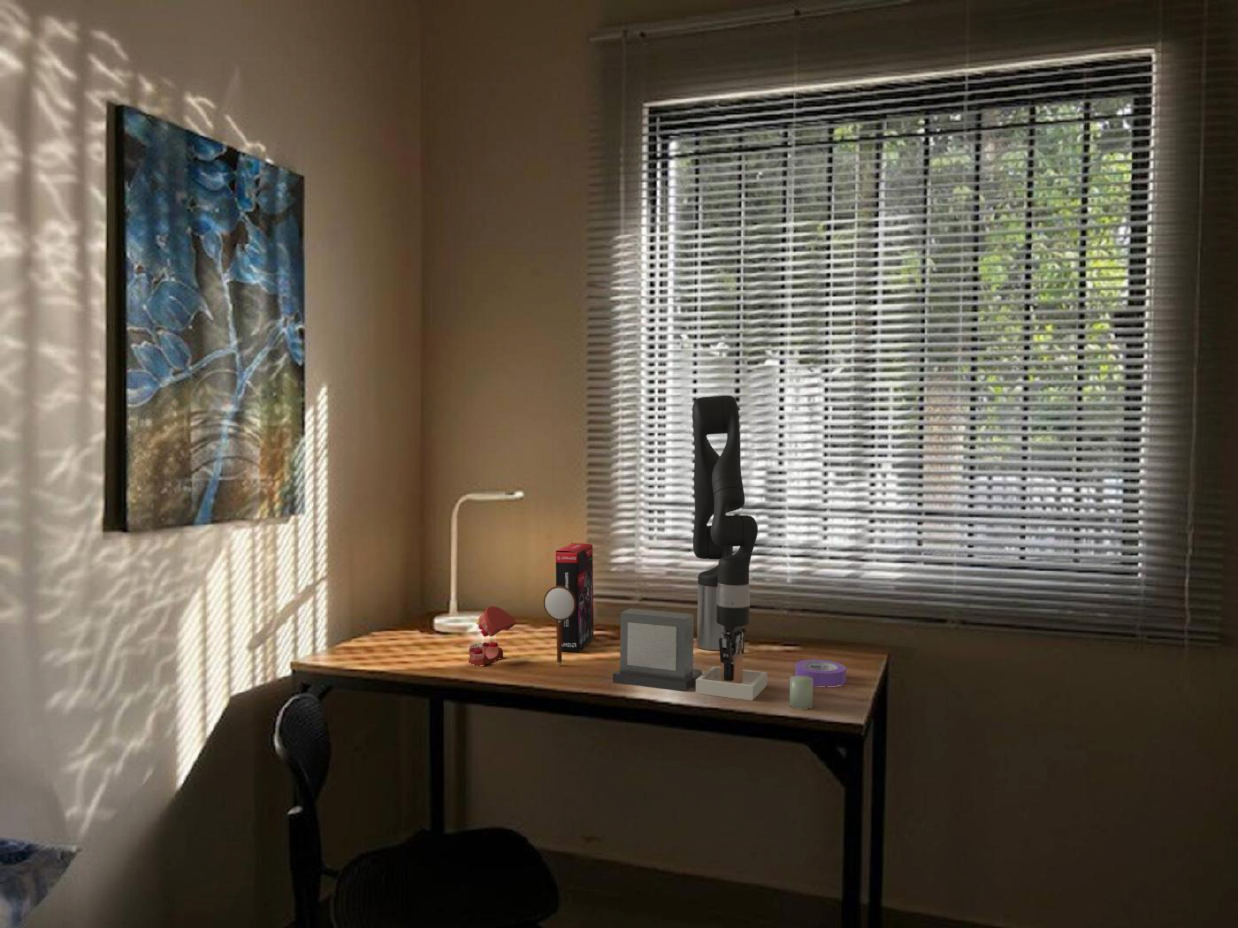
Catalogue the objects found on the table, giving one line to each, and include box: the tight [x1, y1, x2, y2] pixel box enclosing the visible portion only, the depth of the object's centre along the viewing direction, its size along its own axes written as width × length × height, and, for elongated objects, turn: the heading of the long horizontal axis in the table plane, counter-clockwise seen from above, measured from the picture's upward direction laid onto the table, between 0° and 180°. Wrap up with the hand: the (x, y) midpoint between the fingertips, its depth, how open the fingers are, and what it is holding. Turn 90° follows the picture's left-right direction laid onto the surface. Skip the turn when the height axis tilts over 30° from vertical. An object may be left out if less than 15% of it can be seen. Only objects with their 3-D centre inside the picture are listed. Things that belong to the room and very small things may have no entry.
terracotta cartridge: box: [721, 653, 744, 684], centre depth 205 cm, size 5×5×6 cm
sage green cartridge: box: [789, 675, 814, 709], centre depth 193 cm, size 5×5×6 cm
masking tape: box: [794, 659, 847, 687], centre depth 213 cm, size 12×12×4 cm
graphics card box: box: [555, 542, 595, 653], centre depth 246 cm, size 17×7×27 cm, turn 168°
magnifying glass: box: [543, 585, 576, 667], centre depth 224 cm, size 9×2×20 cm, turn 71°
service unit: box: [612, 607, 703, 692], centre depth 212 cm, size 12×18×16 cm, turn 67°
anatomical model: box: [467, 605, 517, 666], centre depth 228 cm, size 10×8×15 cm
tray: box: [695, 665, 768, 701], centre depth 205 cm, size 13×13×3 cm
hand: (732, 677), depth 205 cm, fingers closed on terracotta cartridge, 4 cm apart
